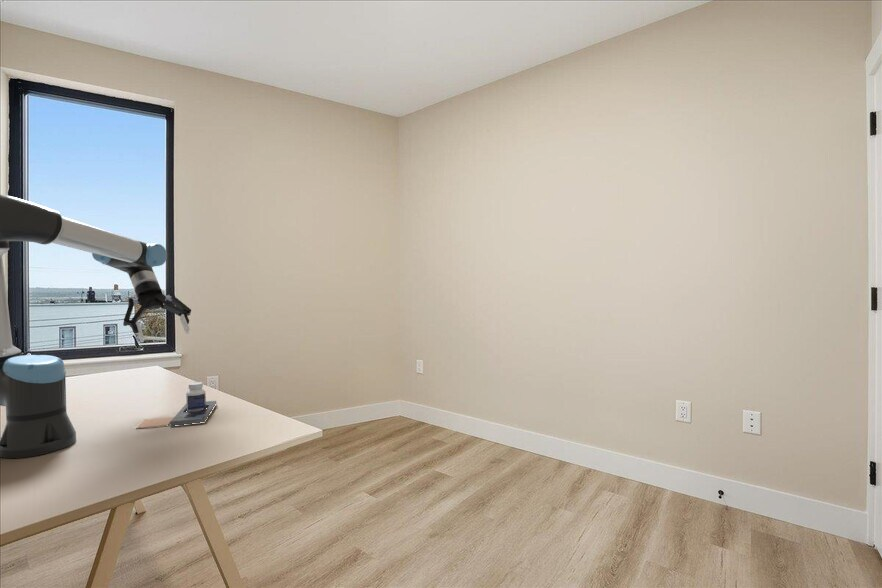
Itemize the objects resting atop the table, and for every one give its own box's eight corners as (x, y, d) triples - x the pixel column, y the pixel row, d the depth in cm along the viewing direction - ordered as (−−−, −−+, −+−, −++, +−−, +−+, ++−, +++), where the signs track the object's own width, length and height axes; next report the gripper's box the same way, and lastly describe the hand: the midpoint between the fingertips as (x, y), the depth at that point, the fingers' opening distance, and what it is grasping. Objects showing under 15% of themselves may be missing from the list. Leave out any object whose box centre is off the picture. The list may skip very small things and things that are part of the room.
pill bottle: (208, 413, 146) (207, 383, 146) (190, 417, 142) (189, 386, 142) (202, 410, 150) (201, 380, 149) (184, 413, 146) (183, 383, 145)
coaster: (167, 426, 134) (167, 424, 134) (136, 429, 132) (136, 427, 132) (174, 418, 142) (174, 416, 142) (145, 420, 139) (145, 419, 139)
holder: (204, 423, 136) (204, 418, 136) (170, 426, 133) (170, 421, 133) (216, 405, 155) (216, 400, 155) (186, 407, 152) (186, 402, 152)
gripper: (183, 288, 171) (203, 334, 164) (102, 298, 153) (120, 350, 146) (187, 275, 166) (207, 322, 159) (104, 284, 149) (122, 337, 141)
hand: (166, 335), depth 152 cm, fingers open, 13 cm apart
